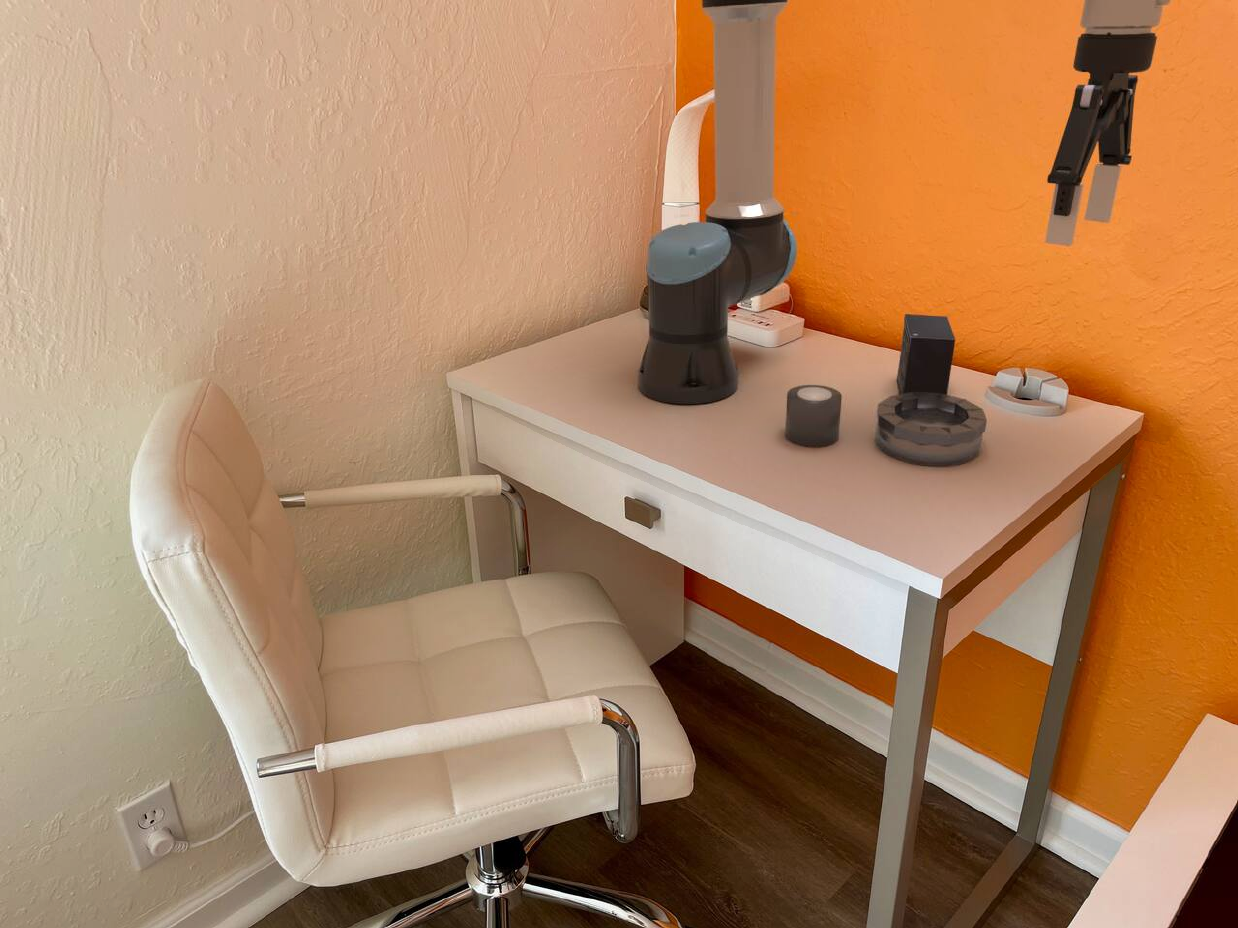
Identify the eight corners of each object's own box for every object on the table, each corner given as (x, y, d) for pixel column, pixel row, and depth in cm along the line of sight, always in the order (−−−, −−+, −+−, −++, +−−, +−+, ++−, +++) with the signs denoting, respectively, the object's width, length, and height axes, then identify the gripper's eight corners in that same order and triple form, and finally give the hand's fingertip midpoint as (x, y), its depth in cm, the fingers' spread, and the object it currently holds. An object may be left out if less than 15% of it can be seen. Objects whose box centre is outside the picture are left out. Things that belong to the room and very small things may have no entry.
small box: (948, 409, 129) (958, 338, 125) (900, 407, 131) (908, 336, 126) (940, 381, 139) (949, 314, 134) (895, 379, 140) (902, 313, 135)
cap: (774, 438, 123) (777, 395, 120) (802, 421, 128) (805, 379, 125) (820, 452, 119) (824, 408, 116) (848, 434, 123) (851, 391, 121)
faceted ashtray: (857, 447, 120) (860, 416, 118) (903, 415, 128) (907, 385, 126) (953, 476, 112) (958, 443, 110) (996, 439, 120) (1001, 408, 118)
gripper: (1121, 38, 87) (1076, 260, 97) (1187, 25, 104) (1143, 216, 113) (1040, 37, 92) (1005, 249, 101) (1115, 25, 108) (1079, 208, 118)
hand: (1078, 232), depth 107 cm, fingers open, 13 cm apart
